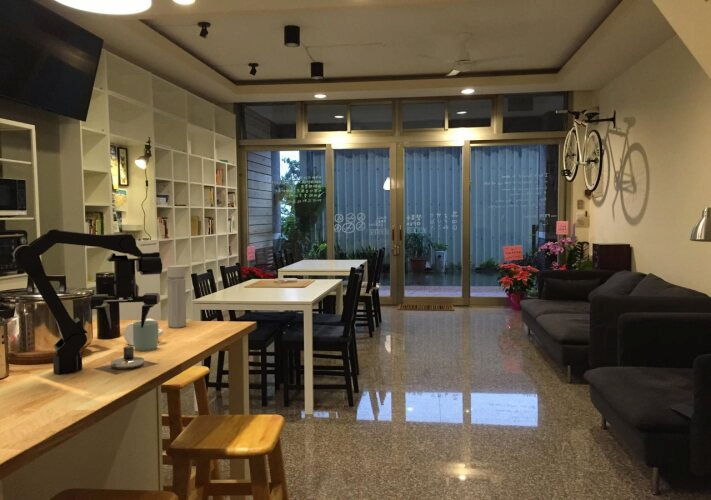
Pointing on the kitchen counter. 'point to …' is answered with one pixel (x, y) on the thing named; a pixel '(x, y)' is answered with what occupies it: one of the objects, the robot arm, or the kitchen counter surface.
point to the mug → (129, 332)
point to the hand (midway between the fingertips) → (126, 328)
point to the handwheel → (127, 360)
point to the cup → (145, 335)
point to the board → (118, 371)
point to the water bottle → (176, 296)
